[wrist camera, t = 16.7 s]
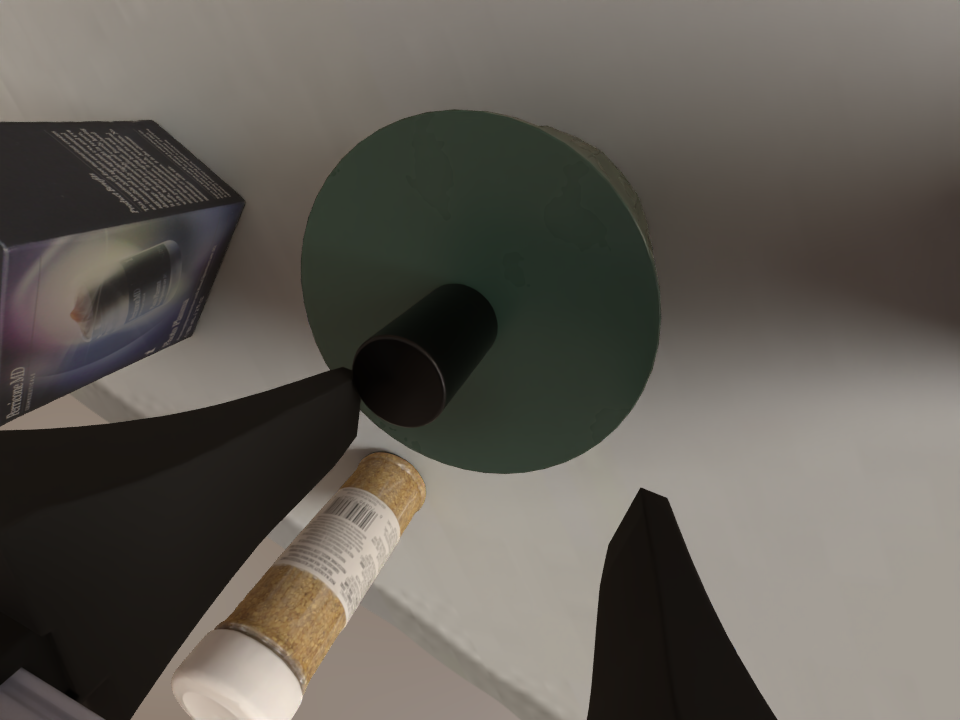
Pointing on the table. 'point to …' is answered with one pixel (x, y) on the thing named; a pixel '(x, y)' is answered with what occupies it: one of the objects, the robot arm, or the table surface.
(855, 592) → the table surface
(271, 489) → the robot arm
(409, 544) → the table surface
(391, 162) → the lid
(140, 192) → the small box
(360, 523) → the sprinkles bottle
